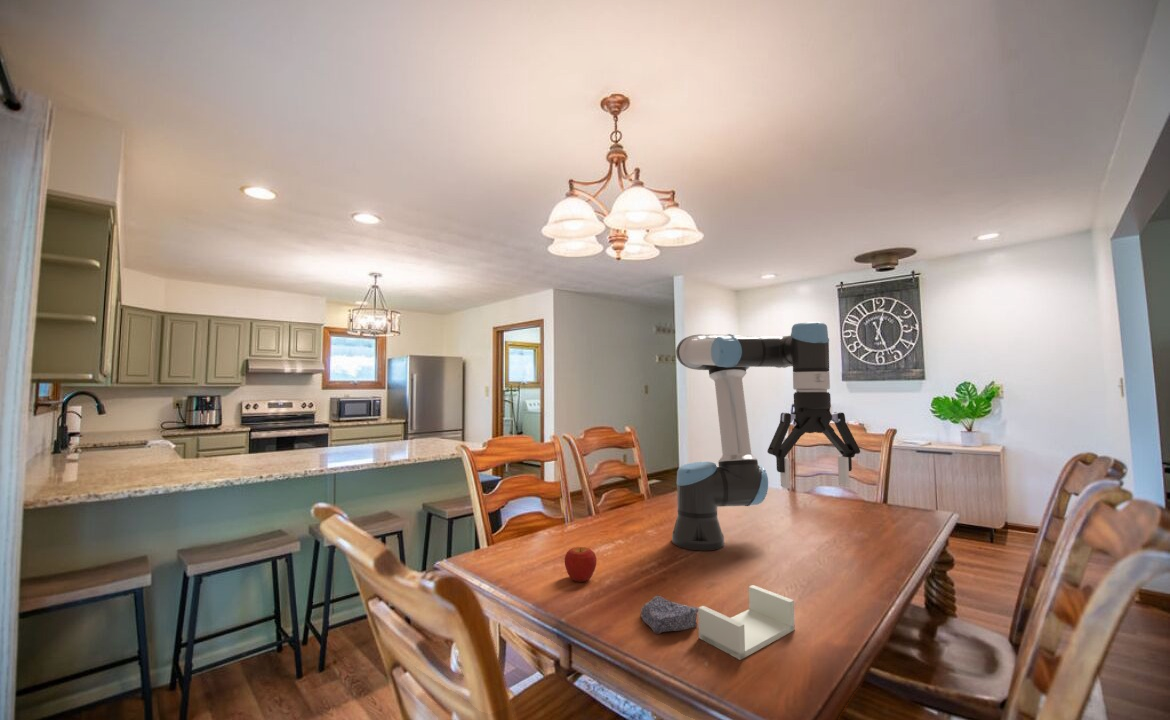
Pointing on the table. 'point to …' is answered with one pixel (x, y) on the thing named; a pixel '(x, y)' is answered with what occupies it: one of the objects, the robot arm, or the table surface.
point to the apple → (580, 563)
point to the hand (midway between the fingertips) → (814, 486)
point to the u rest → (748, 624)
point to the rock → (668, 615)
